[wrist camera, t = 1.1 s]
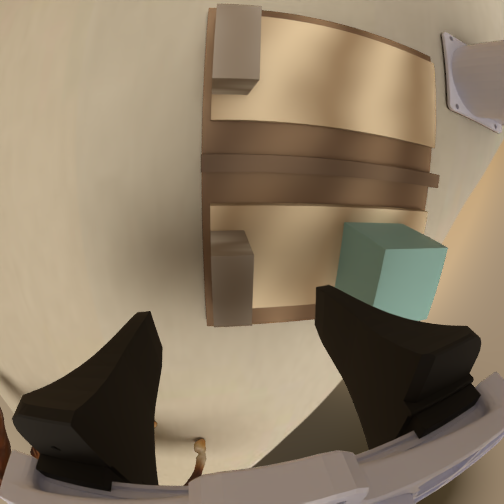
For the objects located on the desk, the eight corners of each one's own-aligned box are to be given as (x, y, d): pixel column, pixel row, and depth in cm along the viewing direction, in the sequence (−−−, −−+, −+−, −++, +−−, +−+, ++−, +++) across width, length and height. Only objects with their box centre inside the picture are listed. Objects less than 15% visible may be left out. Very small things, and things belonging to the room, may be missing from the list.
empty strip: (427, 65, 15) (469, 57, 10) (428, 147, 17) (472, 153, 13) (216, 19, 12) (219, -19, 8) (210, 120, 15) (211, 110, 11)
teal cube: (402, 223, 18) (447, 247, 14) (389, 285, 20) (426, 319, 16) (344, 222, 18) (385, 249, 13) (334, 290, 19) (366, 330, 15)
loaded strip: (421, 209, 19) (463, 227, 15) (404, 288, 22) (437, 317, 17) (210, 203, 17) (210, 224, 12) (212, 303, 19) (215, 348, 15)
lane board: (424, 58, 15) (439, 54, 13) (397, 303, 23) (409, 314, 21) (208, 12, 13) (209, -1, 11) (207, 320, 21) (207, 336, 19)
